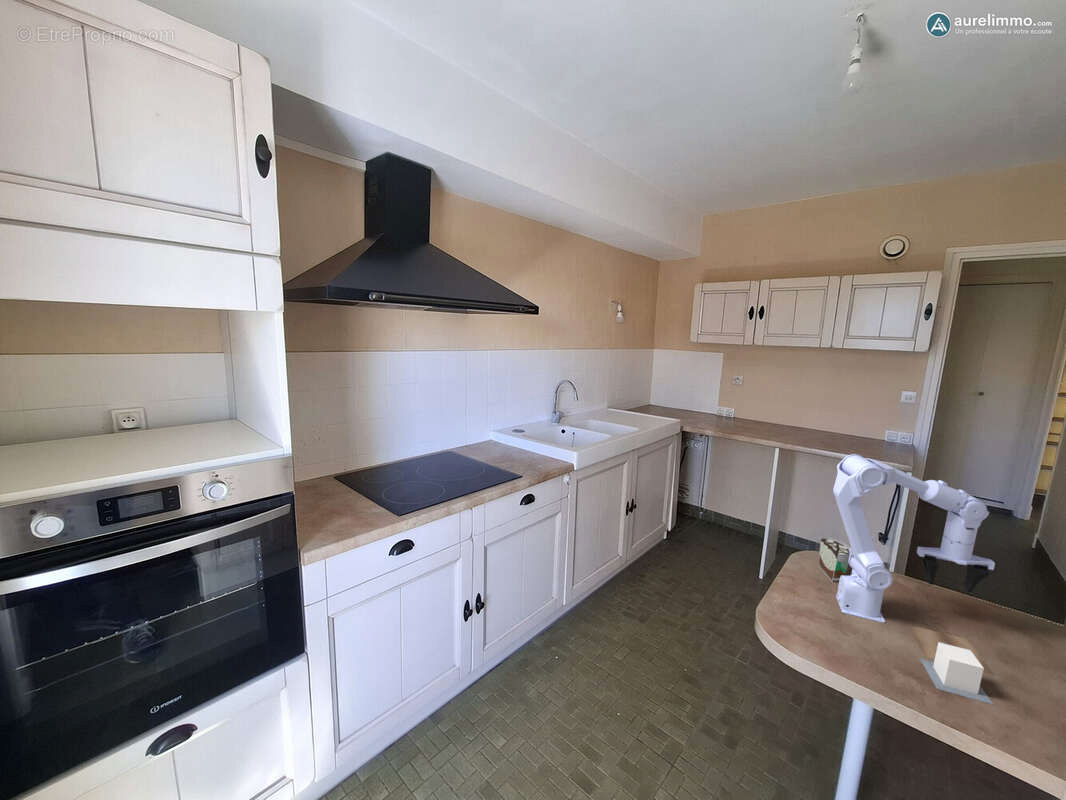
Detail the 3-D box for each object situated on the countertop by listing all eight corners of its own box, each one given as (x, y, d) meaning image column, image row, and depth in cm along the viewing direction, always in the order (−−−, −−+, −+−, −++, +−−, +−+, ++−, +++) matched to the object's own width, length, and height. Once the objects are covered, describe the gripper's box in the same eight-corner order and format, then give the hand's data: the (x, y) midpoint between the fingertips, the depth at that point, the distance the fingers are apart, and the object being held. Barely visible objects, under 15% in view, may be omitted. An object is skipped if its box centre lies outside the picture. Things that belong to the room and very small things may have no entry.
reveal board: (925, 657, 100) (925, 656, 100) (906, 625, 110) (906, 624, 110) (993, 675, 95) (994, 674, 95) (967, 639, 105) (967, 638, 105)
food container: (857, 588, 126) (862, 557, 124) (834, 585, 127) (839, 555, 125) (836, 565, 138) (841, 537, 136) (816, 562, 139) (820, 535, 137)
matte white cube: (943, 685, 92) (949, 659, 90) (933, 666, 97) (938, 642, 95) (977, 694, 89) (983, 668, 88) (964, 675, 94) (970, 650, 93)
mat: (936, 689, 91) (937, 688, 91) (920, 659, 99) (920, 658, 99) (992, 705, 87) (993, 704, 87) (970, 673, 95) (971, 672, 95)
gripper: (928, 539, 107) (919, 587, 109) (1006, 553, 101) (994, 603, 103) (917, 527, 113) (908, 572, 116) (990, 539, 107) (979, 587, 110)
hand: (948, 586), depth 110 cm, fingers open, 7 cm apart
